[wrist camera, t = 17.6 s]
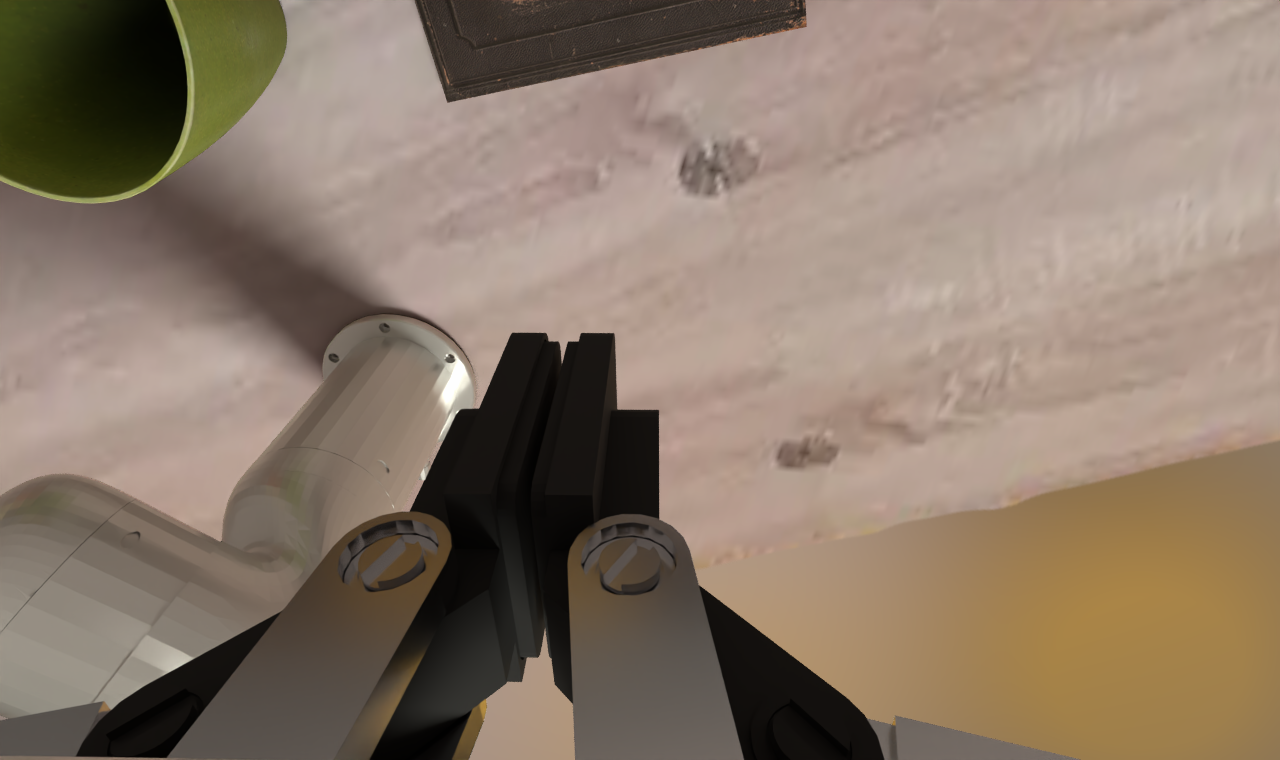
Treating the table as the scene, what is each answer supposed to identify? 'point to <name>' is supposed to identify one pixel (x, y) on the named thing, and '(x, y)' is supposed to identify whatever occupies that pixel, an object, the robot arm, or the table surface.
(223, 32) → the flower pot
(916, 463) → the table surface
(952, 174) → the table surface
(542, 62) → the hardcover book
